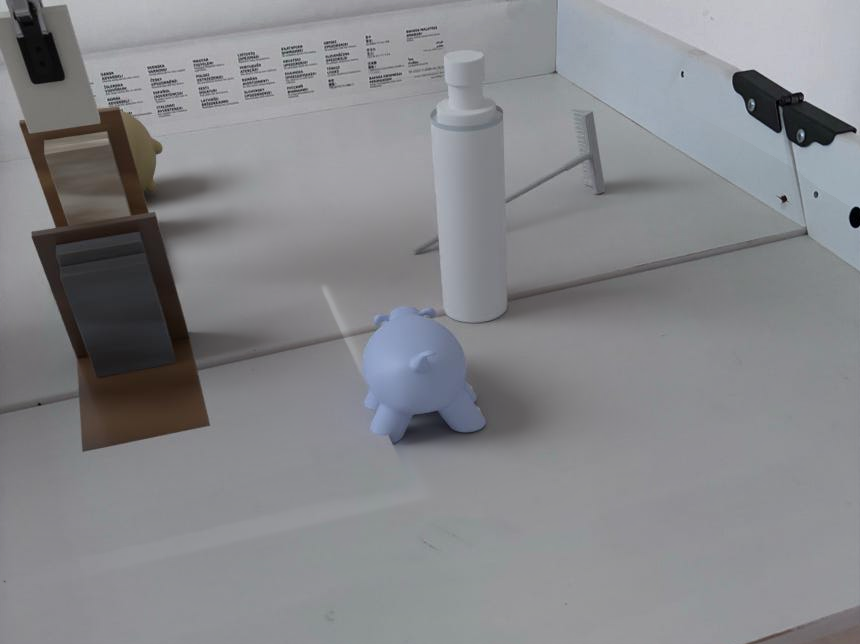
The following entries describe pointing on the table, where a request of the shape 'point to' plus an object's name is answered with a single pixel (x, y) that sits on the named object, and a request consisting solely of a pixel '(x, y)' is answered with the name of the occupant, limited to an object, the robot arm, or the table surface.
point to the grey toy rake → (566, 164)
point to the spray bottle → (470, 193)
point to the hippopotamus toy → (417, 374)
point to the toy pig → (142, 150)
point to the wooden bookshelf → (87, 171)
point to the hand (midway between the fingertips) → (48, 75)
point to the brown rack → (123, 329)
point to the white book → (52, 100)
